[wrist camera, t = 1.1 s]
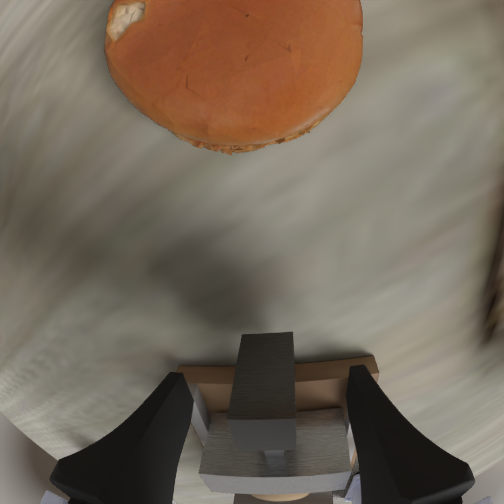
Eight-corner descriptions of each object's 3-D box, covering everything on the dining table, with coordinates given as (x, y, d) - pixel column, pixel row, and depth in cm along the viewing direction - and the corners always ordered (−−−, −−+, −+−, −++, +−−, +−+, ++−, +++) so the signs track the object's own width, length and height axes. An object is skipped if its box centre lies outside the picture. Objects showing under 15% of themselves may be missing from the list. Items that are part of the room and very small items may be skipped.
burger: (371, 124, 11) (416, 123, 7) (170, 171, 13) (121, 192, 9) (310, -52, 8) (318, -106, 4) (127, -1, 10) (77, -33, 5)
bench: (348, 462, 22) (353, 510, 17) (223, 467, 23) (215, 513, 18) (373, 355, 16) (396, 428, 11) (179, 365, 18) (152, 434, 12)
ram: (338, 432, 17) (345, 494, 12) (221, 436, 18) (210, 496, 13) (351, 326, 13) (375, 409, 9) (186, 335, 14) (154, 413, 10)
